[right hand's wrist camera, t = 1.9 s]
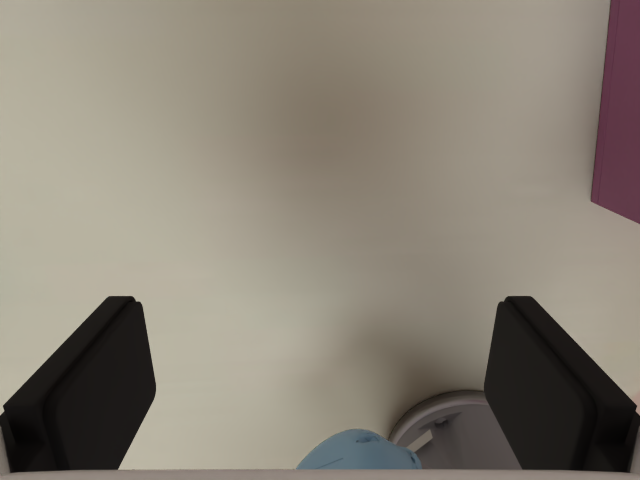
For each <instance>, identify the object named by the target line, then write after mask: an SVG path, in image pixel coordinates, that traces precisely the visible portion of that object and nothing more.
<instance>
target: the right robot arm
mask: <svg viewBox="0 0 640 480" xmlns="http://www.w3.org/2000/svg"><path fill="white" fill-rule="evenodd" d="M155 393H156V383H155V377H154V371H153V365H152V359H151V353H150V347H149V341H148V336H147V330H146V324H145V318H144V312H143V307H142V304H141V302H136V300H135V299H134V297H132V296H109V297H108V298H106V299H105V300H104V301H103V302H102V303H101V305H100V306H99V307H98V308H97V309H96V310H95V311H94V312H93V313H92V314H91V315H90V316H89V317H88V318H87V319H86V320H85V321H84V322H83V323H82V324H81V325H80V326H79V327H78V328H77V329H76V330H75V332H74V333H73V334H72V335H71V336H70V337H69V338H68V339H67V340H66V341H65V342H64V343H63V344H62V345H61V346H60V347H59V348H58V349H57V350H56V351H55V352H54V353H53V354H52V355H51V356H50V358H49V359H48V360H47V361H46V362H45V363H44V364H43V365H42V366H41V367H40V368H39V369H38V370H37V371H36V372H35V373H34V374H33V375H32V376H31V377H30V378H29V379H28V380H27V381H26V382H25V383H24V385H23V386H22V387H21V388H20V389H19V390H18V391H17V392H16V393H15V394H14V395H13V396H12V397H11V398H10V399H9V400H8V401H7V402H6V403H5V404H4V405H3V408H4V412H3V413H2V414H1V415H0V480H640V416H639V414H638V413H637V412H636V407H637V405H636V404H635V403H634V402H633V401H632V400H631V399H630V398H629V397H628V396H627V395H626V394H625V393H624V392H623V391H622V390H621V389H620V388H619V387H618V386H617V385H616V383H615V382H614V381H613V380H612V379H611V378H610V377H609V376H608V375H607V374H606V373H605V372H604V371H603V370H602V369H601V368H600V367H599V366H598V365H597V364H596V363H595V362H594V361H593V360H592V359H591V358H590V356H589V355H588V354H587V353H586V352H585V351H584V350H583V349H582V348H581V347H580V346H579V345H578V344H577V343H576V342H575V341H574V340H573V339H572V338H571V337H570V336H569V335H568V334H567V333H566V332H565V330H564V329H563V328H562V327H561V326H560V325H559V324H558V323H557V322H556V321H555V320H554V319H553V318H552V317H551V316H550V315H549V314H548V313H547V312H546V311H545V310H544V309H543V308H542V307H541V306H540V305H539V303H538V302H537V301H536V300H535V299H534V298H532V297H531V296H508V297H506V299H505V300H504V302H499V304H498V307H497V312H496V318H495V324H494V330H493V336H492V341H491V347H490V353H489V359H488V365H487V371H486V377H485V383H484V393H485V397H486V400H487V402H488V404H489V406H490V408H491V410H492V412H493V414H494V416H495V418H496V419H497V421H498V423H499V425H500V427H501V429H502V431H503V433H504V435H505V437H506V439H507V441H508V443H509V445H510V447H511V449H512V451H513V453H514V454H515V456H516V458H517V460H518V462H519V464H520V466H521V468H522V470H460V469H180V470H118V468H119V466H120V464H121V462H122V460H123V458H124V456H125V454H126V453H127V451H128V449H129V447H130V445H131V443H132V441H133V439H134V437H135V435H136V433H137V431H138V429H139V427H140V425H141V423H142V421H143V419H144V418H145V416H146V414H147V412H148V410H149V408H150V406H151V404H152V402H153V400H154V397H155Z"/></svg>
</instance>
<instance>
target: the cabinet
mask: <svg viewBox="0 0 640 480" xmlns="http://www.w3.org/2000/svg"><path fill="white" fill-rule="evenodd" d="M591 202H593V203H595V204H598V205H600V206H602V207H604V208H606V209H608V210H610V211H613V212H615V213H617V214H619V215H621V216H623V217H626V218H628V219H630V220H632V221H634V222H637V223H639V224H640V0H611V9H610V19H609V29H608V39H607V49H606V58H605V68H604V78H603V88H602V98H601V108H600V118H599V128H598V138H597V147H596V157H595V167H594V177H593V187H592V197H591Z"/></svg>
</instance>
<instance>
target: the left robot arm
mask: <svg viewBox="0 0 640 480" xmlns="http://www.w3.org/2000/svg"><path fill="white" fill-rule="evenodd" d="M296 469H460V470H522V468H521V466H520V464H519V462H518V460H517V458H516V456H515V454H514V453H513V451H512V449H511V447H510V445H509V443H508V441H507V439H506V437H505V435H504V433H503V431H502V429H501V427H500V425H499V423H498V421H497V419H496V418H495V416H494V414H493V412H492V410H491V408H490V406H489V404H488V402H487V400H486V397H485V393H484V392H478V391H458V392H451V393H445V394H442V395H438V396H435V397H433V398H430V399H428V400H426V401H424V402H422V403H420V404H418V405H417V406H415V407H414V408H412V409H411V410H410V411H408V412H407V413H406V414H405V415H404V416H403V417H402V418H401V419H400V420H399V422H398V423H397V424H396V426H395V427H394V429H393V431H392V433H391V435H390V438H389V441H388V440H387V439H385V438H383V437H381V436H380V435H378V434H376V433H374V432H372V431H369V430H364V429H351V430H346V431H343V432H340V433H338V434H335V435H333V436H331V437H330V438H328V439H327V440H325V441H323V442H322V443H321V444H319V445H318V446H317V447H316V448H314V449H313V450H312V451H311V452H310V453H309V454H308V455H307V456H306V457H305V458H304V459H303V460H302V462H301V463H300V464H299V465H298V466H297V468H296Z"/></svg>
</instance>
